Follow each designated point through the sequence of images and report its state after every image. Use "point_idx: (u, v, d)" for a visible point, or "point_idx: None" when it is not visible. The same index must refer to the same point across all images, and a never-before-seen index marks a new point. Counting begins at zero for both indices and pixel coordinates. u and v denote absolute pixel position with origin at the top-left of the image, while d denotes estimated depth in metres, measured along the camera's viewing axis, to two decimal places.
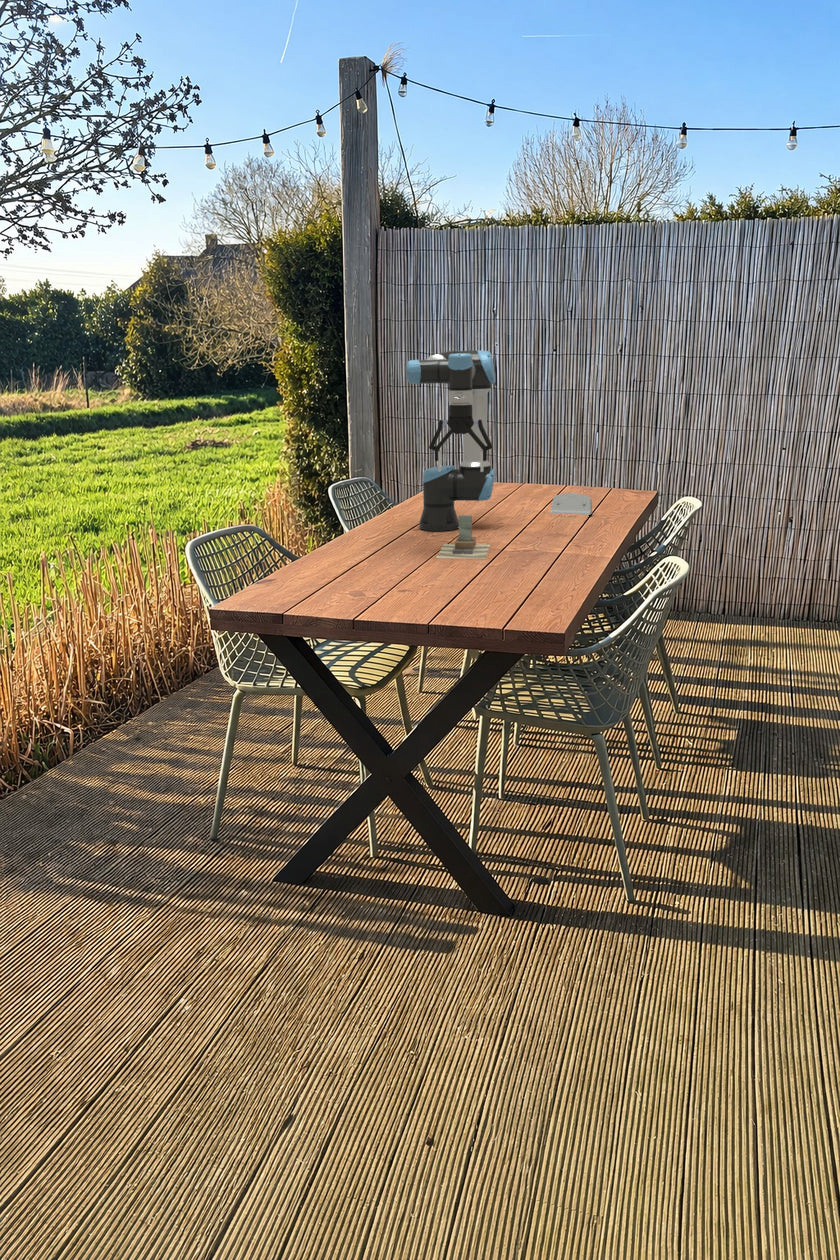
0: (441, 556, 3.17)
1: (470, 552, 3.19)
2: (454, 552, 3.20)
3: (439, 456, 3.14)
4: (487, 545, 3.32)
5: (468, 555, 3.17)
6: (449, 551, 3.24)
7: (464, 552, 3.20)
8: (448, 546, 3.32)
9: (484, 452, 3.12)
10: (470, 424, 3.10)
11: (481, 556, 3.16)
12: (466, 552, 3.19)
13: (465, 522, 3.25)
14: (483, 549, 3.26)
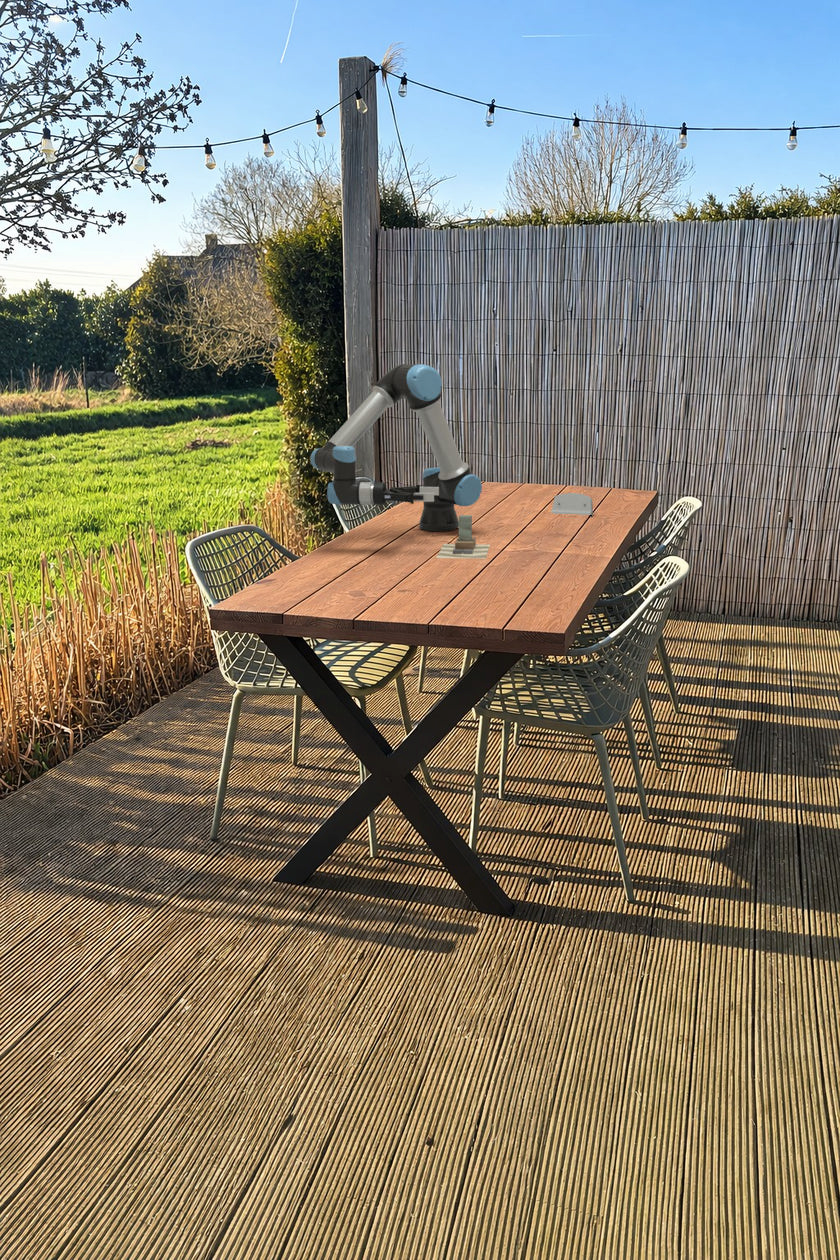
0: (441, 556, 3.17)
1: (470, 552, 3.19)
2: (454, 552, 3.20)
3: None
4: (487, 545, 3.32)
5: (468, 555, 3.17)
6: (449, 551, 3.24)
7: (464, 552, 3.20)
8: (448, 546, 3.32)
9: (415, 499, 3.20)
10: None
11: (481, 556, 3.16)
12: (466, 552, 3.19)
13: (465, 522, 3.25)
14: (483, 549, 3.26)
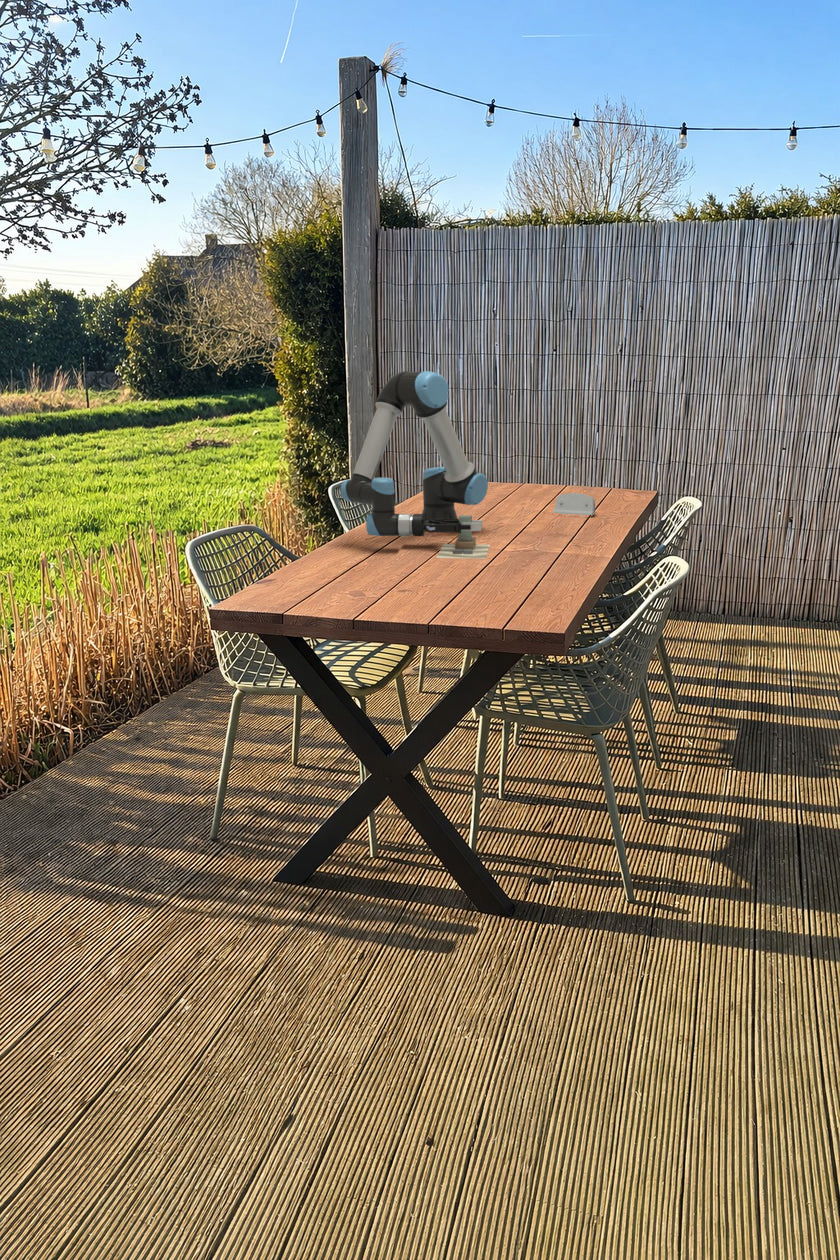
0: (441, 556, 3.17)
1: (470, 552, 3.19)
2: (454, 552, 3.20)
3: None
4: (487, 545, 3.32)
5: (468, 555, 3.17)
6: (449, 551, 3.24)
7: (464, 552, 3.20)
8: (448, 546, 3.32)
9: None
10: None
11: (481, 556, 3.16)
12: (466, 552, 3.19)
13: (465, 522, 3.25)
14: (483, 549, 3.26)
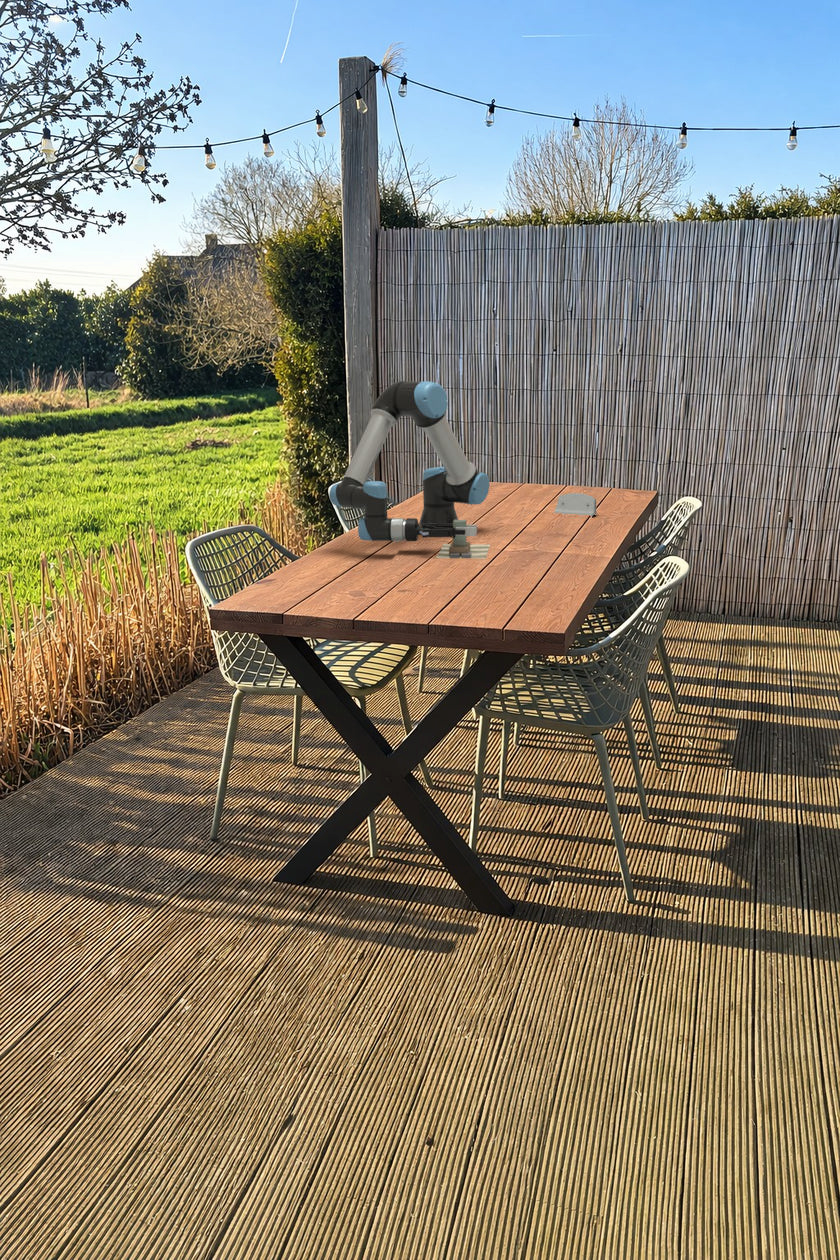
0: (441, 556, 3.17)
1: (468, 556, 3.13)
2: (451, 556, 3.14)
3: None
4: (487, 545, 3.32)
5: None
6: None
7: (462, 556, 3.14)
8: (448, 546, 3.32)
9: None
10: None
11: (481, 556, 3.16)
12: (464, 556, 3.14)
13: None
14: (483, 549, 3.26)
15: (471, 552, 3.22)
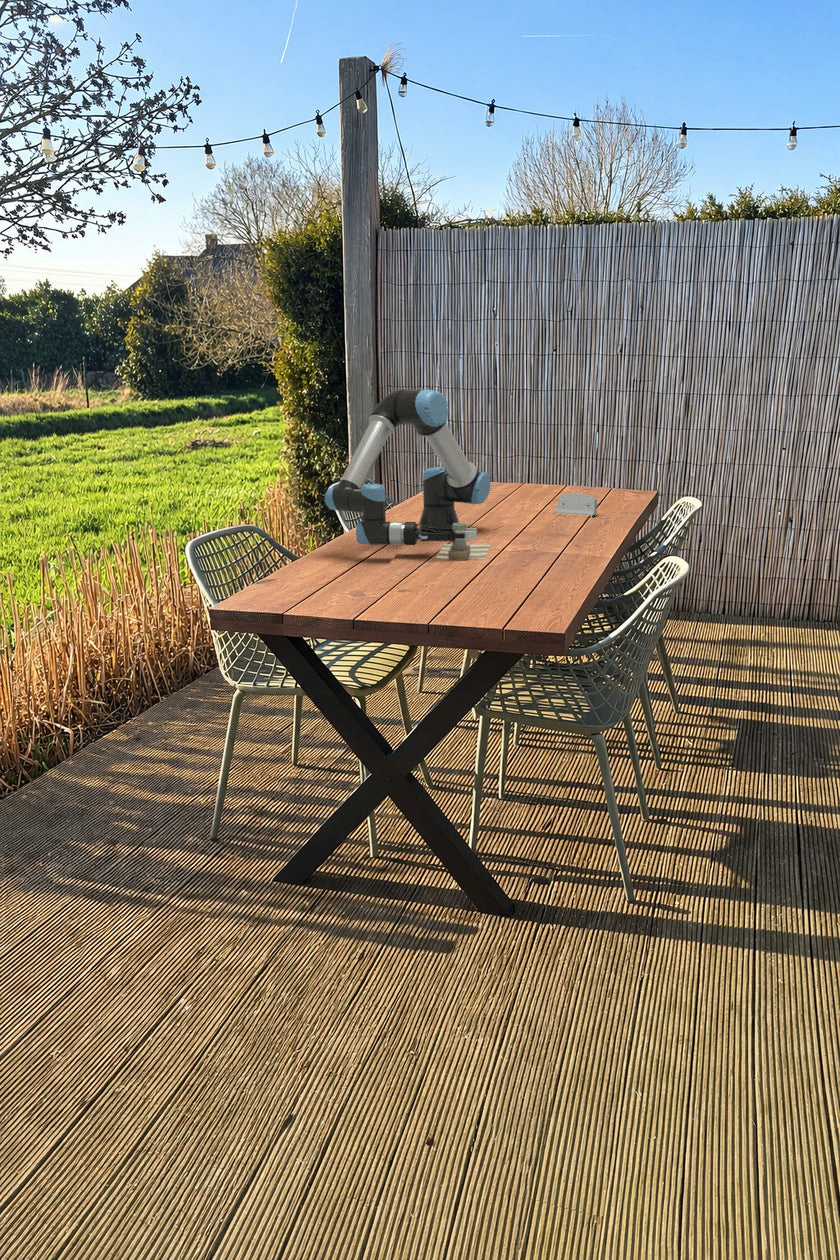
0: (441, 556, 3.17)
1: None
2: None
3: None
4: (487, 545, 3.32)
5: None
6: None
7: None
8: (448, 546, 3.32)
9: (456, 538, 3.11)
10: None
11: (481, 556, 3.16)
12: None
13: (459, 530, 3.12)
14: (483, 549, 3.26)
15: (471, 552, 3.22)
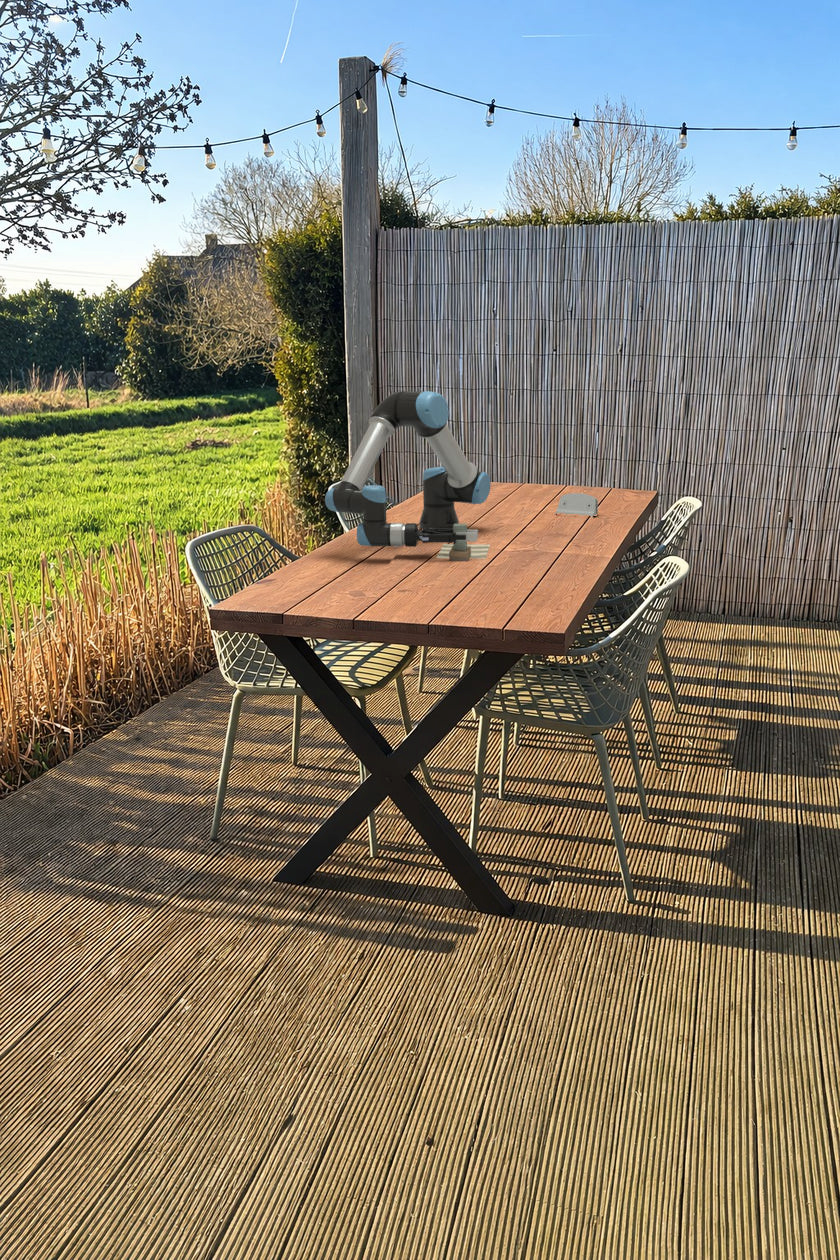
0: (441, 556, 3.17)
1: None
2: None
3: None
4: (487, 545, 3.32)
5: None
6: (449, 551, 3.24)
7: None
8: (448, 546, 3.32)
9: None
10: None
11: (481, 556, 3.16)
12: None
13: (460, 531, 3.11)
14: (483, 549, 3.26)
15: (471, 552, 3.22)
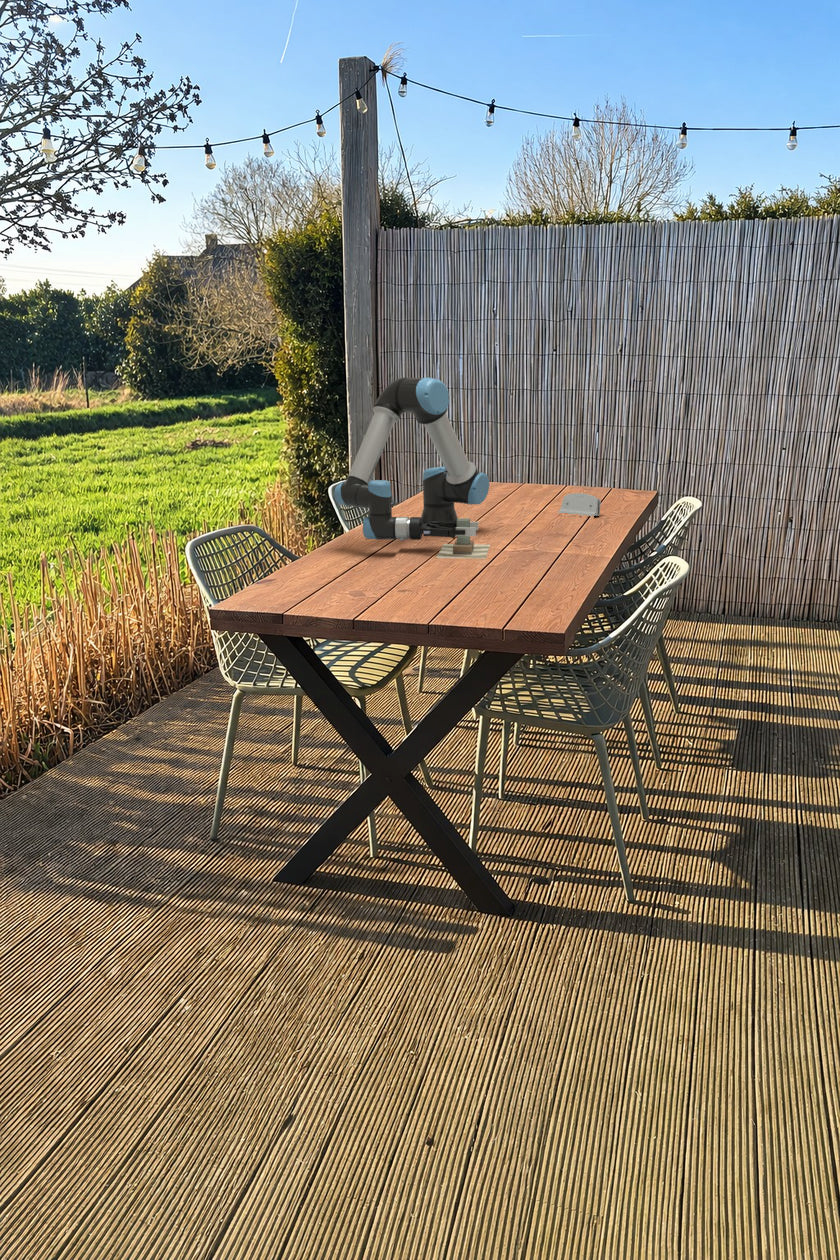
0: (441, 556, 3.17)
1: None
2: None
3: None
4: (487, 545, 3.32)
5: (468, 555, 3.17)
6: (449, 551, 3.24)
7: None
8: (448, 546, 3.32)
9: None
10: None
11: (481, 556, 3.16)
12: None
13: (463, 525, 3.20)
14: (483, 549, 3.26)
15: None
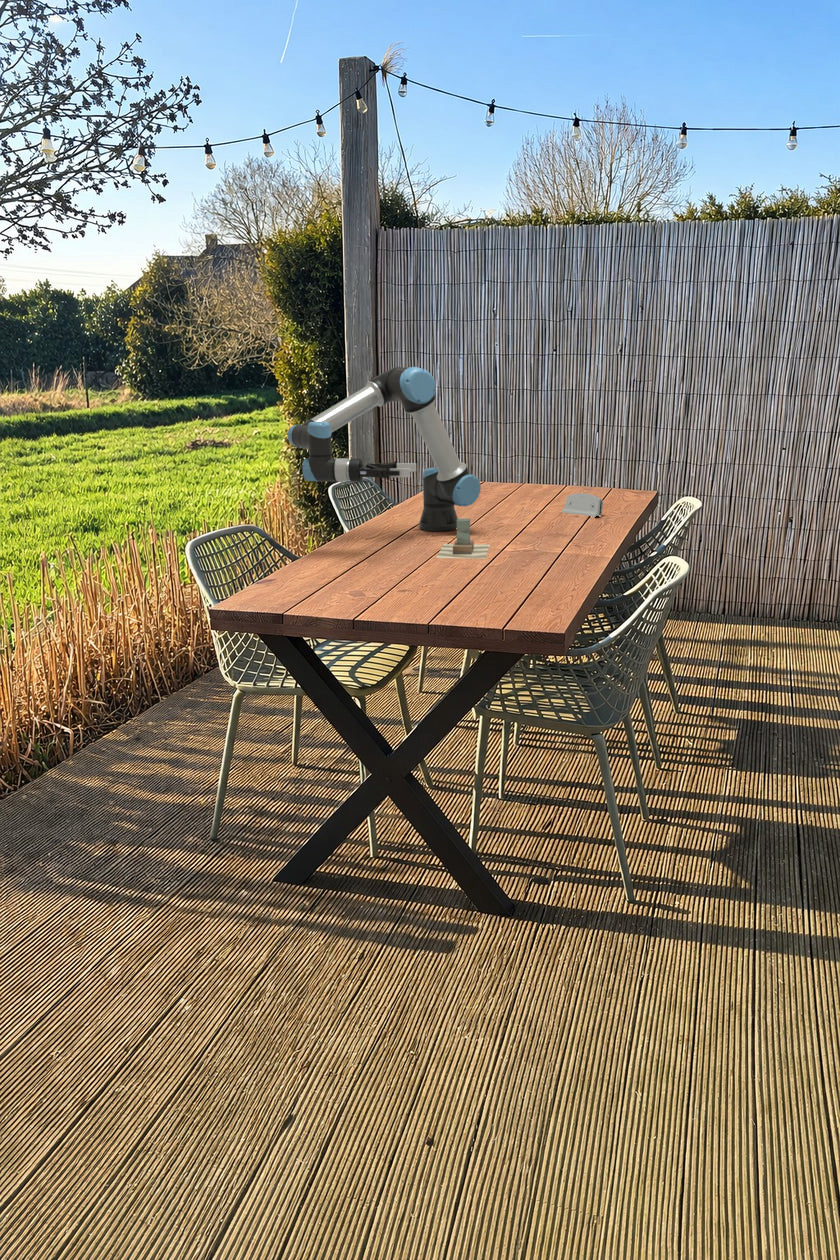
0: (441, 556, 3.17)
1: None
2: None
3: None
4: (487, 545, 3.32)
5: (468, 555, 3.17)
6: (449, 551, 3.24)
7: None
8: (448, 546, 3.32)
9: None
10: None
11: (481, 556, 3.16)
12: None
13: (463, 525, 3.20)
14: (483, 549, 3.26)
15: None
